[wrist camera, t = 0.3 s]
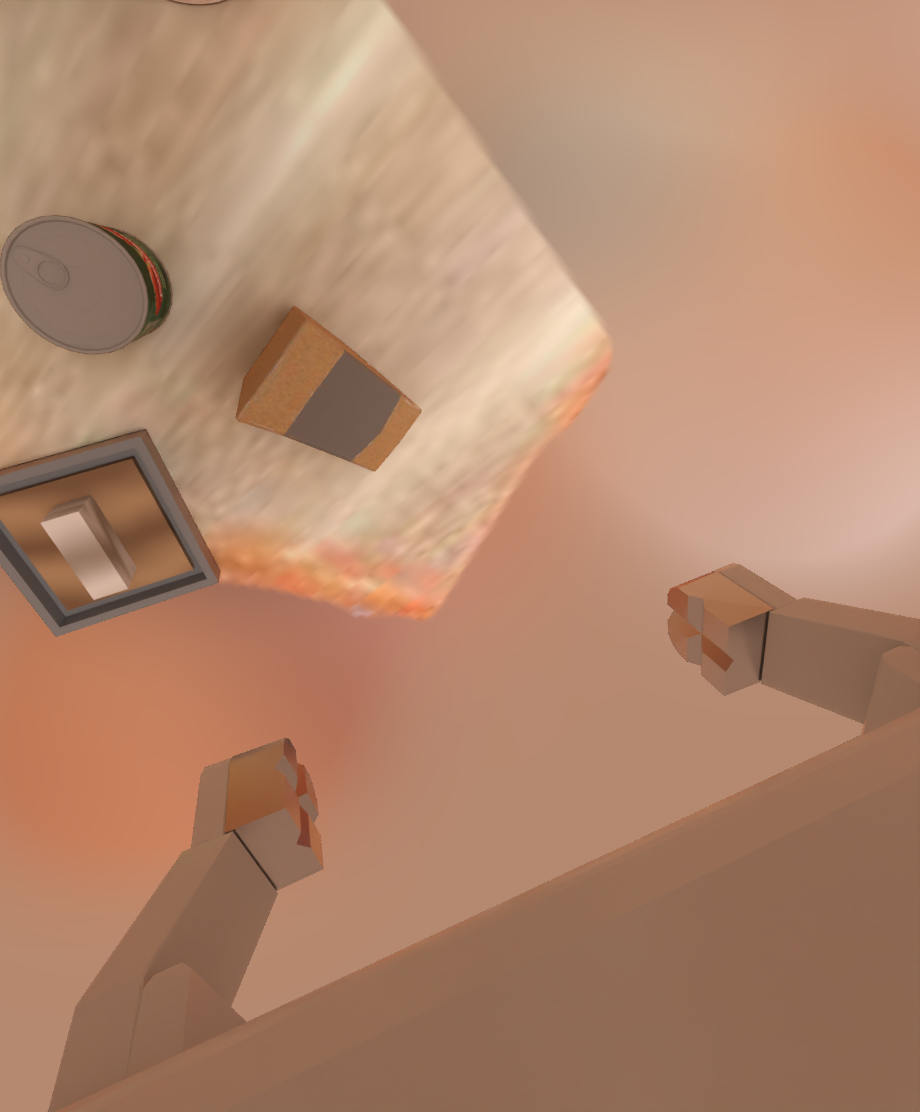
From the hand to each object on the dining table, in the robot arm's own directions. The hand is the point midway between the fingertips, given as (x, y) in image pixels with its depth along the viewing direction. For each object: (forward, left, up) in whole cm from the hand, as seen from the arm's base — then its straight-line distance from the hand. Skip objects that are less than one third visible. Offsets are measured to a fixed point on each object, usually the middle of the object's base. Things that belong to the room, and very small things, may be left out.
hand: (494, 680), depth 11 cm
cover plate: (+10, -24, -46) cm, 53 cm away
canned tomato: (-9, -13, -47) cm, 50 cm away
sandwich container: (+4, +1, -47) cm, 47 cm away
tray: (+10, -24, -47) cm, 54 cm away
